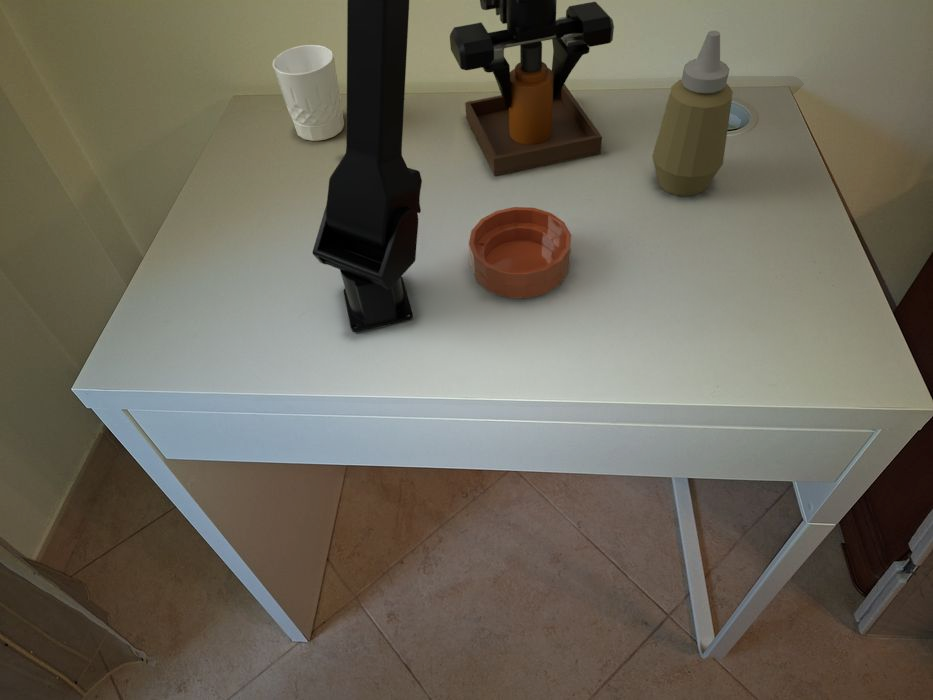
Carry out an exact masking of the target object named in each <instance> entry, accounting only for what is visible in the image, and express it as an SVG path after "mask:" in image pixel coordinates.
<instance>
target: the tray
mask: <svg viewBox="0 0 933 700" xmlns="http://www.w3.org/2000/svg"><path fill="white" fill-rule="evenodd" d="M464 105H465V106H464V107H465V117H466V118H465V119H466V121H467V123H468V125H469V127H470V129H471V131H472V133H473V135H474V138H475V139H476V141H477V144H478V146H479V148H480V150H481V152H482V154H483V156H484V158H485V160H486V162H487V164H488V166H489V168H490V171H491V172H492V175H493V176H494V177H497V176H501V175H506V174H511V173H516V172H521V171H525V170H530V169H534V168H540V167H543V166H549V165H553V164H558V163H563V162H569V161H573V160H578V159H582V158H587V157H591V156H596V155H599V154H601V153H602V143H603V135H602V134H601V133H600V131H599V130H598V129H597V127H596V126H595V124H594V123H593V122H592V120H591V118H590V117H589V116H588V114H586V111H585V110H584V109H583V108H582V106H581V105H580V104H579V102H578V100H577V99H576V98H575V97H574V95H573V94H572V92H571V91H570V90H569V88H568V87H567V85H566V84H565V83H564V85H563V87H562V89H561V91H560V92H559V94H558V96H557V98H556V99H553V109H552V134H551V136H550V137H549V138H548V139H547V140H546V141H544V142H541V143H538V144H521V143H518V142H516V141H514V140H513V139H512V138H511V137H510V134H509V108H507V107H506V105H505V102H504V100H503V97H502V94H501V95H495V96H490V97H485V98H480V99H475V100H471V101H469V100H468V101H465V102H464Z"/></svg>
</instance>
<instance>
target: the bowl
mask: <svg viewBox="0 0 933 700" xmlns="http://www.w3.org/2000/svg"><path fill="white" fill-rule="evenodd" d="M571 244H572V233H571V232H570V230H569V228H568V226H567V225H566V223H565V221H564V220H562V219H561V218H559V217H558V216H556V214H554V213H552V212H549V211H546V210H543V209H540V208H536V207H530V206H529V207H528V206H527V207H526V206H525V207H524V206H512V207H508V208H504V209H499V210H495V211H493V212H491V213H490V214H488V215H486V216H484V217H482V218H480V219H479V221H478V222H477V223H476V224H475V225H474V227H473V228H472V229H471V231H470V235H469V240H468V250H469V251H468V253H469V263H470V270H471V272H472V274H473V277H474V280H475V281H476V282H477V283H478V284H479V285H480V286H481V287H482V288H484V289H485V290H486V291H488V292H490V293H492V294H496V295H498V296H501V297H504V298H511V299H512V298H513V299H530V298H533V297H534V298H535V297H538V296H542V295H546V294H547V293H549V292H551V291H552V290H555V289H556V288H557V287H560V285H562V283H563V281H564V280H565V279H566V277H567V276H568V274H569V272H570V260H571V258H570V257H571Z"/></svg>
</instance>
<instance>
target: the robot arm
mask: <svg viewBox="0 0 933 700" xmlns="http://www.w3.org/2000/svg"><path fill="white" fill-rule="evenodd" d="M346 3H347V4H346V6H347V9H346V132H345V133H346V137H345V138H346V140H345V141H346V143H345V144H346V145H345V153H344V155H343V156H342V158H341V160H339V162H338V164H337V166H336V168H335V169H334V170H333V172H332V173H331V175H330V177H329V178H328V187H327V196H326V197H327V198H326V203H325V204H326V205H325V207H324V210H323V211H324V212H323V215H322V218H321V222H320V224H319V228H318V231H317V236H316V239H315V242H314V245H313V249H312V255H313V256H314V257H315V259H317V261H318V262H319V263H320V264H322V265H326V266H327V265H328V266H330V267H332V268H335V269H338V270H339V273H340V275H341V280H342V282H343V286H344V289H343V296H344V301H345V305H346V311H347V317H348V322H349V326H350V330H351V332H352V333H356V334H357V333H360V332H365V331H369V330H373V329H374V330H375V329H378V328H383V327H387V326H390V325H395V324H399V323H404V322H407V321H408V322H409V321H411V320H413V318H414V312H413V309H412V305H411V301H410V298H409V295H408V292H407V289H406V285H405V281H404V278H403V275H404V274H405V273H406V272H407V271H408V270H409V269H410V267H411V266H412V265H413V264H414V263H415V262H416V256H417V244H418V234H419V233H418V231H419V214H420V213H421V212H422V209H421V201H420V200H421V197H420V195H421V189H422V184H423V180H422V176H421V171H419V170H417V169H414V168H410V167H408V165H407V163H406V161H405V159H404V157H403V151H402V149H403V133H404V132H403V131H404V114H405V113H404V112H405V111H404V110H405V109H404V108H405V95H406V94H405V92H406V73H407V54H408V38H409V37H408V36H409V17H410V0H347V2H346ZM479 4H480V9H481V10H483V11H490V10H495V15H496V16H499V21H500V22H501V23H502V24H503V25H505V24H506V29H502V30H501V29H500V30H496V31H491V32H488V31H487V29H486V27H485V26H484V24H483V22H476V23H475V22H474V23H471V24H464V25H459V26H454V27H453V28H452V30H451V32H450V34H449V46H450V52H451V53H452V55H453V57H454V59H455V61H456V63H457V64H458V66H459V69H461V70H463V71H472V70H477V69H481V68H482V70H483V71H484V72H485V73H492V74H493V77H494V79H495V81H496V84H497V86H498V89H499V92H500V94H501V95H502V97H503V100H504V102H505V105H506V107H507V108H510V106H511V83H510V72H511V68H510V64H509V62H508V60H507V59H506V57H505V49H507V48H508V49H509V48H513V47H518V46H519V47H520V45H524V44H529V43H535V42H540V41H541V42H544V41H550V40H551V41H552V50H553V51H552V52H553V53H552V61H551V62H552V63H551V70H552V72H553V74H554V80H553V99H556V98H557V96H558V94H559V92H560V91H561V89H562V87H563V85H564V84H565V83H566V81H567V79H568V77H569V76H570V74H571V73H572V72H573V69H574V68H575V67H576V65H577V64H578V62H579V61H580V60H581V58H582V56H583V55H587V54H589V53H590V49H591V47H596V46H597V47H598V46H602V45H608V44H611V43H612V42H613V40H614V29H615V25H614V21H613V18H612V17H611V16H610V15H609V14H608V13H607V12H606V11H605V10H604V8H602V6H601V5H599V4H598V2H597V1H591V2H584V3H580V4H574V5H569V6H568V8H566V10H565V16H562V17H558V18H557V5H558V0H479Z"/></svg>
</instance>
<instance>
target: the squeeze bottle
mask: <svg viewBox="0 0 933 700" xmlns="http://www.w3.org/2000/svg"><path fill="white" fill-rule="evenodd" d="M729 73H730V67H729V65H727V63H725V62H724V61H722V60H721V32H720V31H718V30H709V31H708V32H707V34H706V36H705V39H704V41H703V43H702V46H701V49H700V50H699V52H698V54H697V58H694V59H691V60H688V61H687V62H686V63H685V64H684V66H683V69H682V75H681V79H678V80H677V81H676V82H675V83H674V84H673V85H671V88H670V92H669V96H668V99H667V102H666V106H665V110H664V113H663V115H662V116H663V117H662V120H661V124H660V127H659V131H658V134H657V137H656V141H655V144H654V148H653V152H652V161H653V165H654V170H655V175H656V179H657V183H658V185H659V187H661V188H662V189H663V190H664V191H665V192H668V193H670V194H672V195H676V196H682V197H688V196H695V195H699V194H700V193H703V192H704V191H705V190H706V189H707V188H708V186H709V185H710V183H712V180H713V179H714V178H715V176H716V175H717V174H718V172H719V171H720V169H721V168H722V166H723V165H724V160H725V159H724V158H725V151H726V144H727V137H728V130H729V123H730V116H731V108H732V103H733V94H734V91H733V90H732V88H731V86H730V85H729V84H728V83H727V82H728V78H729V75H730V74H729Z"/></svg>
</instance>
